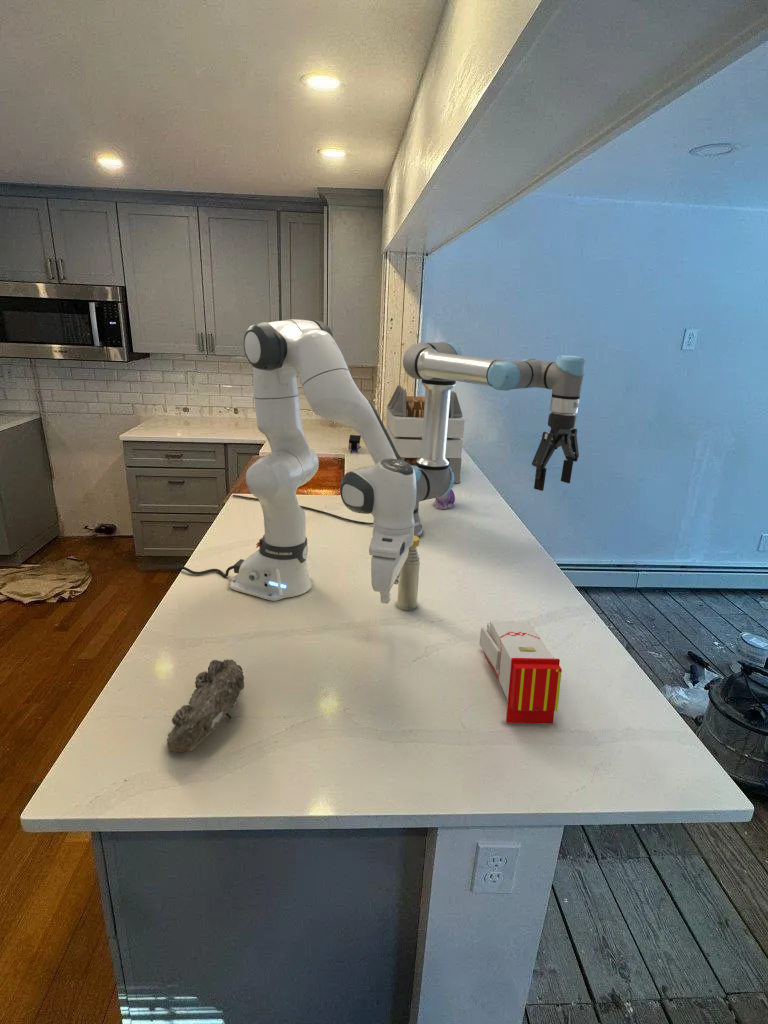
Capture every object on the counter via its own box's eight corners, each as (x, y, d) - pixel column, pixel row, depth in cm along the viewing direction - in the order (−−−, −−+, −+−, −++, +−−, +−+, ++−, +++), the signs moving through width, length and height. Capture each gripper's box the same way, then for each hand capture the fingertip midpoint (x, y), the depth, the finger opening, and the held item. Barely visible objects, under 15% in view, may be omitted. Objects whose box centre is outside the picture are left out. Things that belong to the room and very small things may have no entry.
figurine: (441, 511, 224) (444, 474, 219) (427, 503, 232) (430, 467, 227) (461, 508, 228) (464, 472, 223) (447, 500, 237) (450, 465, 232)
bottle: (414, 611, 149) (419, 544, 143) (395, 608, 150) (399, 542, 144) (418, 602, 154) (422, 537, 147) (399, 599, 155) (403, 534, 148)
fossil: (192, 660, 117) (244, 628, 112) (224, 691, 120) (276, 661, 115) (142, 746, 98) (202, 712, 93) (182, 779, 101) (242, 748, 96)
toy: (526, 605, 135) (570, 665, 105) (521, 658, 137) (563, 730, 108) (475, 604, 134) (506, 664, 105) (472, 657, 137) (500, 729, 108)
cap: (417, 548, 144) (417, 542, 143) (401, 546, 145) (401, 540, 144) (420, 542, 148) (420, 536, 147) (404, 540, 148) (404, 534, 148)
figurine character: (360, 456, 306) (360, 446, 319) (360, 443, 303) (361, 433, 316) (347, 455, 306) (348, 446, 319) (348, 442, 302) (349, 433, 316)
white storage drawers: (382, 463, 289) (386, 382, 275) (445, 464, 293) (451, 384, 279) (390, 482, 257) (394, 392, 243) (460, 483, 261) (468, 394, 247)
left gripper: (390, 517, 132) (387, 570, 137) (366, 550, 114) (364, 611, 118) (416, 520, 131) (413, 574, 136) (397, 555, 112) (393, 616, 117)
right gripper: (548, 419, 148) (537, 496, 155) (598, 411, 163) (586, 482, 171) (525, 414, 153) (515, 489, 160) (575, 407, 169) (564, 476, 176)
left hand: (390, 592), depth 127 cm, fingers open, 8 cm apart
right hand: (552, 485), depth 166 cm, fingers open, 13 cm apart
